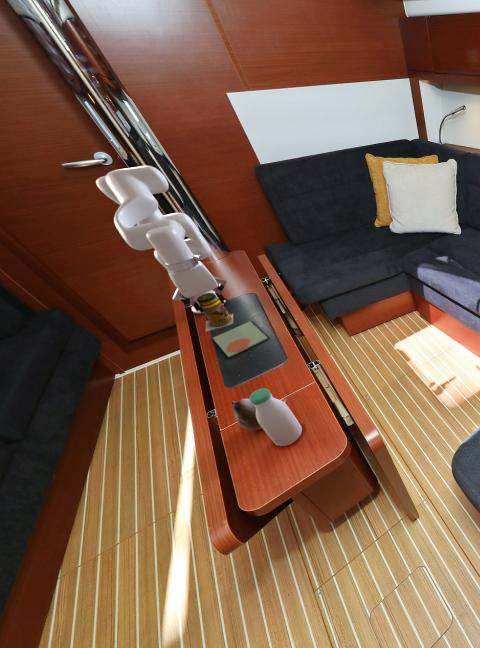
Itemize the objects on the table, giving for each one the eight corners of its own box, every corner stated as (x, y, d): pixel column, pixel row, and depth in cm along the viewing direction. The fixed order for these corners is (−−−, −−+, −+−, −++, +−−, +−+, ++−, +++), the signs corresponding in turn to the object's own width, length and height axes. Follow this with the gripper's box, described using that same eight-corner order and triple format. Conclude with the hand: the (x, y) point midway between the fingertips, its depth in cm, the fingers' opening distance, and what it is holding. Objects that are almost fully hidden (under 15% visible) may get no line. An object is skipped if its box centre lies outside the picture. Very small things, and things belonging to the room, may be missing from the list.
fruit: (240, 421, 104) (220, 398, 97) (272, 403, 110) (255, 379, 102) (250, 441, 98) (229, 418, 91) (283, 421, 104) (266, 397, 97)
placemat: (213, 338, 135) (212, 337, 135) (250, 322, 144) (250, 320, 144) (229, 358, 126) (228, 356, 126) (268, 338, 135) (267, 337, 135)
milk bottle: (308, 428, 102) (281, 387, 90) (287, 450, 96) (256, 409, 84) (289, 421, 104) (261, 380, 92) (268, 442, 98) (234, 401, 86)
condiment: (233, 323, 123) (217, 297, 116) (205, 332, 119) (186, 305, 112) (233, 314, 128) (217, 288, 121) (206, 322, 124) (188, 296, 117)
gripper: (209, 251, 116) (235, 292, 127) (146, 270, 105) (179, 314, 116) (217, 257, 113) (242, 299, 123) (152, 278, 102) (186, 322, 112)
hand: (212, 306), depth 120 cm, fingers closed on condiment, 6 cm apart
